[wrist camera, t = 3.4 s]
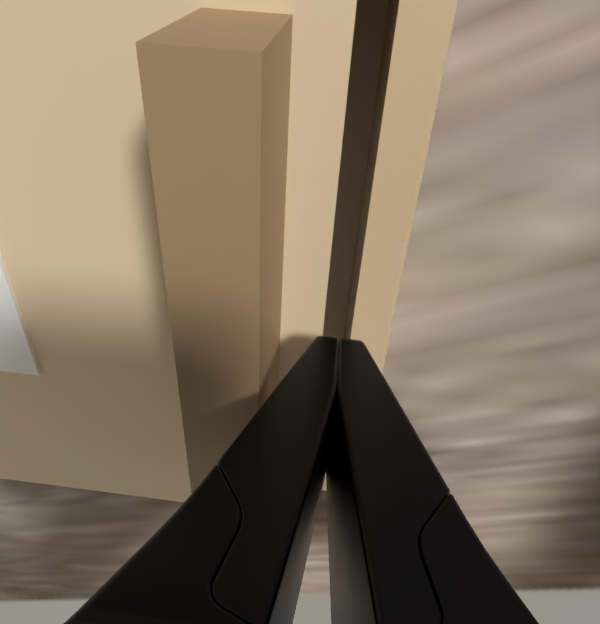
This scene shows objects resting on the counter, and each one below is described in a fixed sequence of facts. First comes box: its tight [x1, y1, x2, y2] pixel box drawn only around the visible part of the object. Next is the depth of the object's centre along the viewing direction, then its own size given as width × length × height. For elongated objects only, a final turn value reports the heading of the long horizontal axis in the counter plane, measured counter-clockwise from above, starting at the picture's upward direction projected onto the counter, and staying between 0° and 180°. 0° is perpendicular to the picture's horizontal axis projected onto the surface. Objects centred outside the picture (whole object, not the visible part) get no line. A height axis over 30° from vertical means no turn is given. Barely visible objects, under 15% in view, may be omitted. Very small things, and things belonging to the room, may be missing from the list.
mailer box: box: [322, 0, 458, 491], centre depth 12 cm, size 14×13×4 cm
